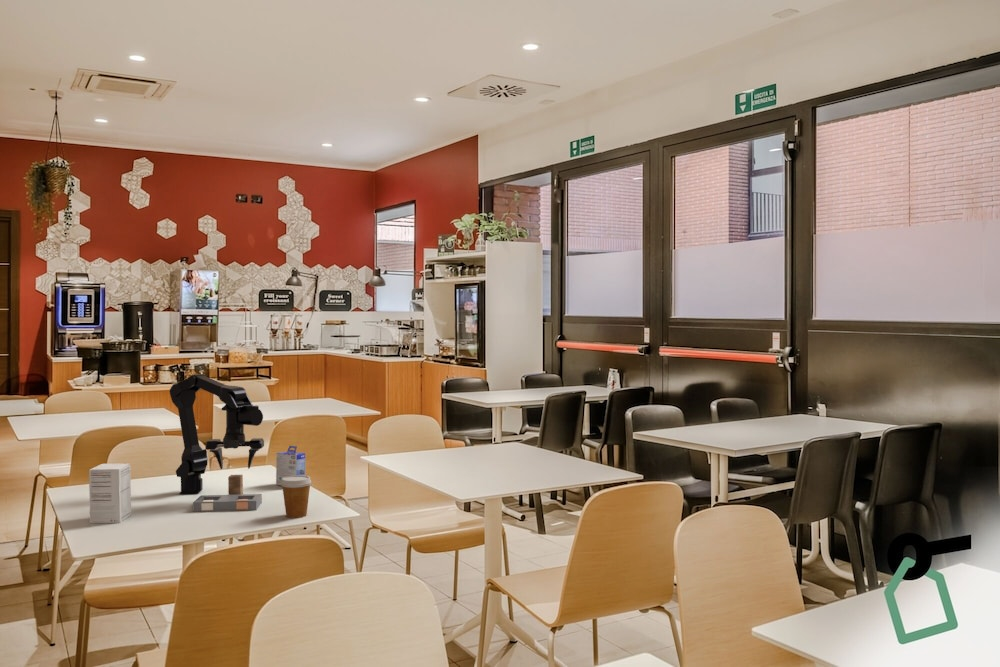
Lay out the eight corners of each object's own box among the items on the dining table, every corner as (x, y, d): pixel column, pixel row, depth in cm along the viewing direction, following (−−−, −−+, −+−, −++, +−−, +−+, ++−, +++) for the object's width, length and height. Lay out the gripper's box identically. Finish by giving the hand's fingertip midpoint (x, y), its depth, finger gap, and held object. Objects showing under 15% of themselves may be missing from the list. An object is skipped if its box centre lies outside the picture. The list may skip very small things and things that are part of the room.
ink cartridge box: (306, 485, 303) (306, 446, 302) (296, 487, 298) (296, 448, 297) (285, 482, 307) (284, 444, 307) (275, 485, 302) (275, 446, 302)
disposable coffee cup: (299, 510, 264) (299, 473, 264) (317, 515, 258) (317, 477, 258) (274, 516, 257) (274, 478, 257) (293, 521, 251) (292, 482, 251)
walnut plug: (228, 500, 278) (228, 477, 278) (231, 497, 282) (230, 474, 282) (240, 500, 279) (240, 476, 279) (242, 497, 283) (242, 474, 283)
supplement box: (102, 515, 257) (101, 463, 257) (132, 515, 258) (131, 462, 258) (89, 523, 248) (88, 469, 247) (120, 523, 249) (119, 468, 248)
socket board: (192, 511, 262) (192, 502, 262) (200, 504, 273) (200, 494, 272) (256, 510, 265) (256, 500, 265) (261, 502, 275) (261, 493, 275)
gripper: (201, 427, 271) (201, 474, 271) (258, 426, 273) (258, 472, 274) (209, 422, 282) (209, 467, 282) (264, 422, 284) (264, 466, 285)
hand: (235, 468), depth 280 cm, fingers open, 9 cm apart
